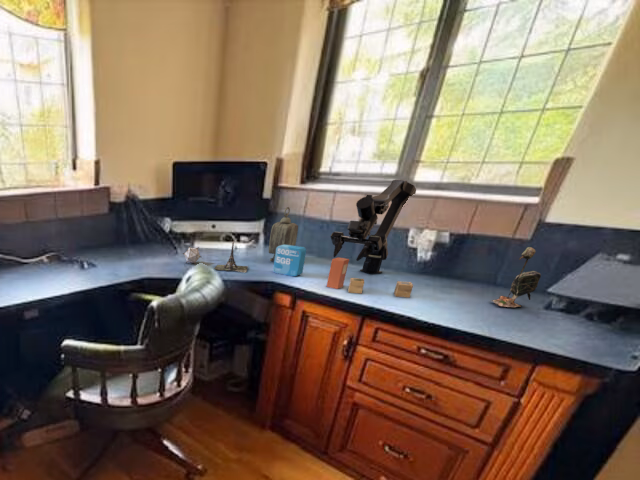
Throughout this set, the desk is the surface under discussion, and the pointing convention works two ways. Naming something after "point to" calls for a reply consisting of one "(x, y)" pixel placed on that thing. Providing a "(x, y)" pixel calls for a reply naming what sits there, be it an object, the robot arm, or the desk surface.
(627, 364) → the desk surface
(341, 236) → the robot arm
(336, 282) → the orange rectangular block
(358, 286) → the maple cube
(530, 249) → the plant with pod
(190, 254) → the game die
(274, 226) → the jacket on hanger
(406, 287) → the maple cube
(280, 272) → the data package
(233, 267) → the eiffel tower figurine
